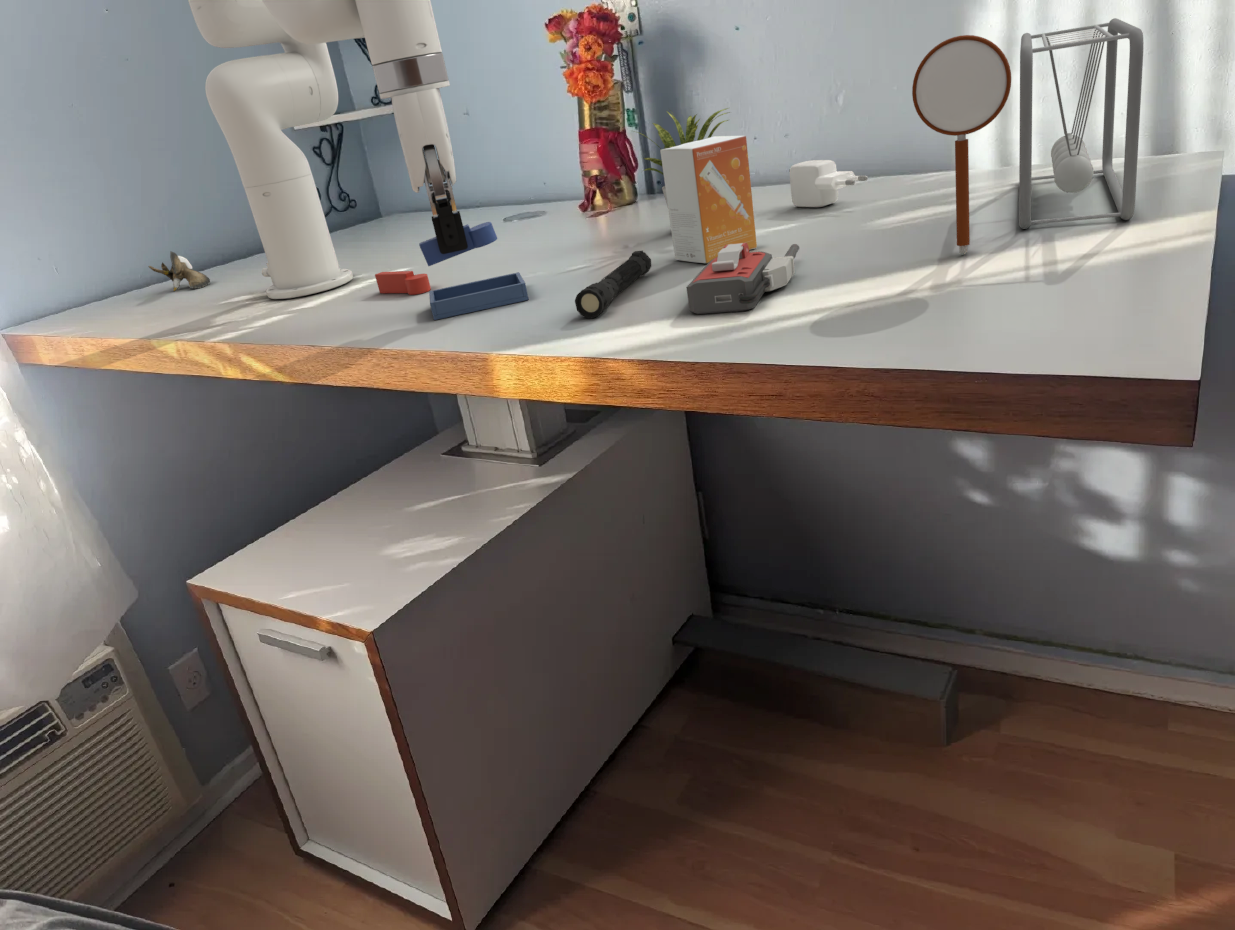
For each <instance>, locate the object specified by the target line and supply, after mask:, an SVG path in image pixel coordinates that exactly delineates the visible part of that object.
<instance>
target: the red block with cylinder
mask: <svg viewBox="0 0 1235 930" xmlns="http://www.w3.org/2000/svg"><path fill="white" fill-rule="evenodd" d="M374 277H375V280H376V285H377V287H378V292H379V294H408V295H409V296H414V295H420V294H424V293H429V291H432V287H431V283H430V280H429V276H428V273H416V274H414V271H413V270H397V271H380V272H377V273H375V274H374Z"/></svg>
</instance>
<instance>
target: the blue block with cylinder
mask: <svg viewBox="0 0 1235 930" xmlns="http://www.w3.org/2000/svg"><path fill="white" fill-rule="evenodd" d="M463 228H464V232H465V236H466V240H467V245H468V248H467V249H465V250H461V251H456V252H451V253H447V254H441V253H440V250H439V246H438V242H437V238H436V236H434V237H431V238H429V239H426V240H424V241H421V242H419V247H420V248H419V249H420V251H421V252H422V255H423V257H424V260H425V261H426V264H427V266H428V267H431V266H433V265H437V264H439V263H441V262H444V261H446V260H447V261H448V260H449V259H452V258H454V257H457V256H459V255H462V254H464V253H467V252H470V251H472V250H474V249H479V248H482V247H485V246H488V245H490V244H492V243H494V242H495V241H497V240H498V236H497V233H496V231H495V228H494V226H493V223H492V222H491V221H486V222H482V223H479V224H476V225H474V226H472V227H470V225H469V223H468V224H465V225H463Z"/></svg>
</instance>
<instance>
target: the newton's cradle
mask: <svg viewBox="0 0 1235 930" xmlns="http://www.w3.org/2000/svg"><path fill="white" fill-rule="evenodd" d="M1105 28H1107V30H1105ZM1034 39H1042V45H1043V46H1041V47H1035V48H1033V40H1034ZM1124 39H1128V40H1129V55H1128V56H1129V59H1128V60H1129V61H1128V75H1127V76H1128V77H1127V78H1128V80H1127V97H1126V99H1127V100H1126V118H1125V119H1126V121H1125V138H1124V139H1125V140H1124V158H1123V159H1124V161H1123V180H1122V181H1123V182H1122V186H1121V183H1120V180H1119V179H1118V177H1117V175H1116V171H1114V167H1113V153H1114V152H1113V151H1114V133H1115V110H1116V109H1115V108H1116V107H1115V106H1116V88H1117V87H1116V85H1117V66H1118V65H1117V62H1118V42H1119V41H1120V40H1124ZM1118 40H1119V41H1118ZM1105 42H1106V53H1105V54H1106V55H1105V80H1104V81H1105V82H1104V106H1103V128H1102V155H1101V156H1102V157H1101V169H1098V170H1094V166H1093V164H1092V160H1091V158H1090V154H1089V152H1088V149H1087V147H1086V143H1085V142H1084V139H1083V138H1084V134H1085V130H1086V125H1087V122H1088V117H1089V112H1090V108H1091V104H1092V99H1093V94H1094V90H1095V86H1096V83H1097V77H1098V74H1099V73H1098V72H1099V68H1100V65H1101V64H1100V63H1101V60H1102V56H1103V55H1102V54H1103V50H1104V48H1105V47H1104V46H1105ZM1086 45H1090V48H1089V52H1088V57H1087V61H1086V66H1085V70H1084V75H1083V80H1082V84H1081V88H1080V93H1079V98H1078V102H1077V106H1076V111H1075V116H1074V119H1073V124H1072V129H1071V132H1068V129H1067V125H1066V118H1065V113H1064V107H1063V102H1062V97H1061V91H1060V86H1059V81H1058V80H1059V79H1058V76H1057V69H1056V63H1055V58H1054V53H1053V51H1054V50H1061V49H1068V48H1073V47H1080V46H1086ZM1041 52H1049V57H1050V58H1049V59H1050V62H1051V63H1050V64H1051V69H1052V75H1053V79H1054V85H1055V89H1056V90H1055V91H1056V96H1057V101H1058V106H1059V113H1060V118H1061V123H1062V128H1063V133H1064V135H1063V136H1061V137H1060V138H1058V139H1057V140H1055V142H1054V143H1053V145H1052V146H1051V150H1050V157H1051V164H1052V171H1053V172H1052V173H1053V174H1051V175H1041V176H1032V171H1033V169H1032V168H1033V167H1032V164H1033V163H1032V161H1033V155H1032V154H1033V79H1034V77H1033V75H1034V73H1033V72H1034V71H1033V69H1034V68H1033V66H1034V62H1033V61H1034V60H1033V59H1034V55H1033V54H1036V53H1041ZM1143 67H1144V32H1143V30H1142V28H1139V27H1137V26H1135V25H1133V24H1131V23H1128V22H1127V21H1124V20H1121V19H1119V18H1116V17H1114V18H1111V20H1109V22H1104V23H1098V24H1092V25H1086V26H1080V27H1075V28H1068V29H1061V30H1055V31H1050V32H1044V33H1043V32H1042V33H1038V34H1037V33H1036V34H1031V33H1029V32H1024V33H1023V34H1022V35H1021V38H1020V48H1019V155H1018V156H1019V158H1018V159H1019V162H1018V163H1019V164H1018V165H1019V167H1018V168H1019V171H1018V174H1019V177H1018V179H1019V181H1018V185H1019V186H1018V188H1019V189H1018V191H1019V193H1018V225H1019V227H1020V228H1021V229H1022V230H1027V229H1028V228H1030V227H1031V226H1032V225H1040V224H1041V225H1042V224H1043V225H1044V224H1053V223H1063V222H1075V221H1086V220H1087V221H1088V220H1097V219H1108V218H1109V219H1110V218H1121V219H1122V220H1123V221H1128V220H1129V221H1130V219H1132V218H1133V216H1134V214H1135V206H1136V195H1137V193H1136V192H1137V177H1138V156H1139V139H1140V121H1141V103H1142V88H1143V87H1142V85H1143ZM1090 92H1091V93H1090ZM1097 174H1103V176H1104V179H1105V181H1106V185H1107V186H1108V189H1109V193H1110V194H1111V196H1112V199H1113V202H1114V204H1115V207H1116V209H1117V212H1112V213H1101V214H1090V215H1089V214H1088V215H1079V216H1067V217H1055V218H1045V219H1034V220H1032V182H1033V181H1041V180H1053V179H1054V184H1055V185H1056V187H1058V188H1059V190H1061V191H1062V192H1064V193H1068V194H1075V193H1078V192H1081V191H1083V190H1085V189H1086V188H1087V187H1089V185H1090V184H1091V183H1092V180H1093V178H1094V175H1097Z"/></svg>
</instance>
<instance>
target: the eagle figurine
mask: <svg viewBox="0 0 1235 930" xmlns="http://www.w3.org/2000/svg"><path fill="white" fill-rule="evenodd" d="M169 257H170V263H171V267H170V269H169V268H168V266H167V265H166V264H165V263H164V262H163V261H162V262H161V264H160V265H161V266H160V268H161V269H159V268H156V267H154V266H152V265H148V268H149V269H150V270H151V271H153V272H155V273H158V274H162V275H164V276H166V277H167V278H169V279H170V280H171V282H172V283H173V284H172V285H173V292H176V290H177V289H178V288H179V287H181V286H180V285H181V282H182V281H183V280H184V279H185V280H186V281H187V282H188V286H189V288H190V289H201V288H204V287H206V286H208V285H210V283H211V279H210V278H209V277H208V276H207V275H206V274H204V273H202V272H200V271H197V270H194V269H193V265H192V264H191V263H190V261H189V260H188V258H186V257H184V256H182V255H178V254H177V253H176V252H173V251H171V250H170V253H169Z"/></svg>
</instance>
